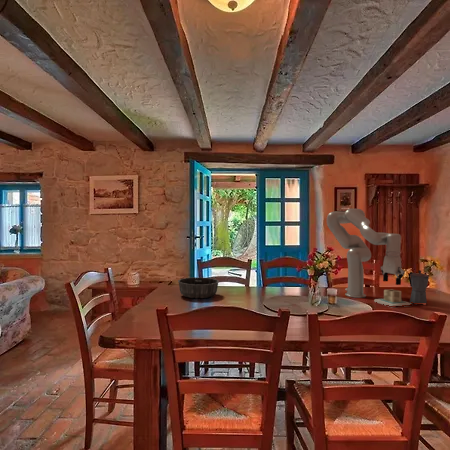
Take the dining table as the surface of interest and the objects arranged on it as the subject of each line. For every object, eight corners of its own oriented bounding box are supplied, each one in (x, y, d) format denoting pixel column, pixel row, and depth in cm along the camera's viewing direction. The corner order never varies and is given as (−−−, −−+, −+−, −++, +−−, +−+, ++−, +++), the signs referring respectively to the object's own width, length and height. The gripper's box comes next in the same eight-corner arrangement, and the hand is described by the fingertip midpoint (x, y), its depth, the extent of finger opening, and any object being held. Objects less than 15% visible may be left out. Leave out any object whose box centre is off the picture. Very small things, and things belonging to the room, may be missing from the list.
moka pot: (421, 306, 192) (422, 272, 192) (400, 300, 207) (401, 268, 206) (435, 305, 194) (435, 271, 194) (413, 299, 209) (413, 268, 209)
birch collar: (383, 299, 201) (384, 289, 201) (392, 299, 203) (392, 289, 203) (392, 302, 194) (392, 292, 194) (401, 301, 196) (401, 291, 196)
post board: (374, 301, 203) (374, 298, 203) (392, 300, 207) (392, 297, 207) (392, 307, 190) (392, 304, 190) (411, 305, 194) (411, 302, 194)
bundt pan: (225, 294, 222) (225, 279, 222) (206, 302, 198) (207, 285, 198) (191, 290, 233) (191, 276, 233) (169, 297, 209) (169, 282, 209)
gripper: (377, 252, 205) (375, 280, 206) (399, 256, 189) (398, 286, 190) (386, 252, 208) (385, 279, 208) (410, 256, 191) (408, 285, 192)
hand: (391, 282), depth 199 cm, fingers open, 9 cm apart
